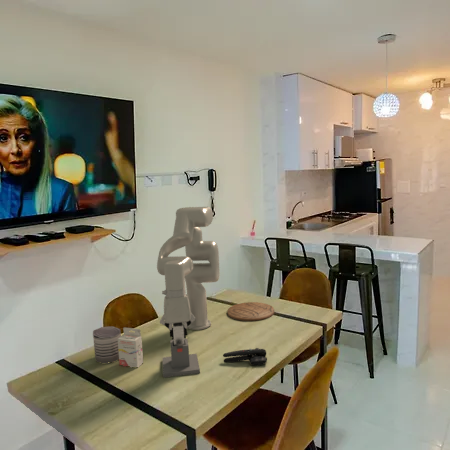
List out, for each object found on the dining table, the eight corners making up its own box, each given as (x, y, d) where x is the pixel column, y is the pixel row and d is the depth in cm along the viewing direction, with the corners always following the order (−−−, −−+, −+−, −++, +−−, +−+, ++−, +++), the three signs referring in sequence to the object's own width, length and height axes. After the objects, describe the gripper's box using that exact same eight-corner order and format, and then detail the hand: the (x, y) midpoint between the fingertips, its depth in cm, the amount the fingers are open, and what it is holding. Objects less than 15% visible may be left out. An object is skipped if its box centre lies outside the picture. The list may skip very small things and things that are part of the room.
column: (174, 361, 167) (172, 321, 164) (185, 360, 167) (182, 320, 165) (175, 366, 163) (172, 325, 160) (186, 364, 163) (183, 324, 161)
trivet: (250, 302, 240) (250, 299, 240) (284, 312, 222) (284, 308, 221) (217, 314, 223) (217, 310, 223) (251, 325, 205) (251, 322, 205)
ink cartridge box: (119, 366, 168) (116, 331, 166) (125, 360, 173) (122, 326, 171) (137, 368, 165) (134, 333, 163) (143, 362, 170) (141, 328, 168)
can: (108, 350, 184) (105, 324, 182) (128, 354, 179) (126, 327, 177) (89, 361, 174) (86, 334, 172) (110, 366, 169) (107, 337, 167)
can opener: (267, 358, 169) (267, 345, 168) (267, 366, 162) (266, 353, 162) (224, 357, 172) (223, 344, 171) (222, 365, 165) (221, 352, 164)
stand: (162, 360, 171) (160, 334, 169) (196, 357, 173) (195, 331, 172) (163, 377, 157) (161, 349, 156) (199, 373, 159) (198, 345, 158)
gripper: (153, 297, 156) (157, 344, 159) (198, 293, 159) (200, 339, 161) (154, 291, 163) (157, 336, 166) (196, 288, 166) (199, 331, 168)
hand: (178, 337), depth 164 cm, fingers closed on column, 4 cm apart
